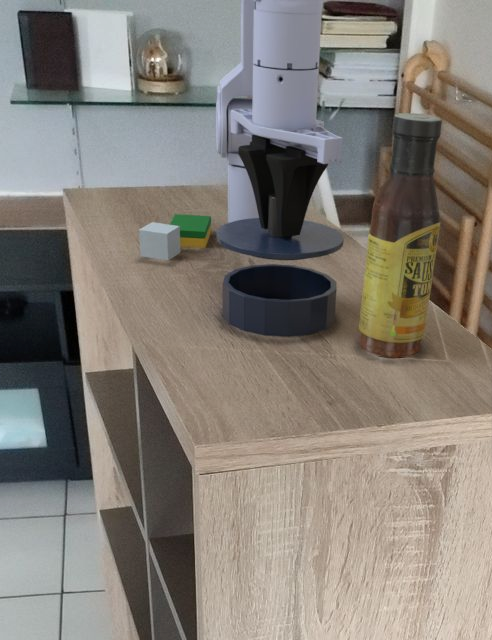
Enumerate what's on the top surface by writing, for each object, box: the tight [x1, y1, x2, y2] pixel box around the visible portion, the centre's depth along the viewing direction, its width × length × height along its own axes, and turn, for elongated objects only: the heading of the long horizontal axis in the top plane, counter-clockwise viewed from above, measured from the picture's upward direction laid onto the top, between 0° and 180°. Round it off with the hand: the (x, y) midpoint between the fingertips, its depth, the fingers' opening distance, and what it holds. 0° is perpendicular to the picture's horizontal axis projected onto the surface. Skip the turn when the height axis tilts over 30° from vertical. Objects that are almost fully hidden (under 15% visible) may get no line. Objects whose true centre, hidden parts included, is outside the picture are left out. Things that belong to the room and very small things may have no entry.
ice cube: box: [138, 221, 181, 261], centre depth 104 cm, size 4×4×4 cm
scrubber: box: [169, 213, 212, 249], centre depth 110 cm, size 7×4×2 cm, turn 179°
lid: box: [215, 193, 344, 261], centre depth 85 cm, size 12×12×5 cm
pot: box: [222, 263, 338, 338], centre depth 90 cm, size 11×11×4 cm
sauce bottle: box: [358, 112, 443, 359], centre depth 80 cm, size 6×6×20 cm
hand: (280, 231), depth 86 cm, fingers closed on lid, 2 cm apart
